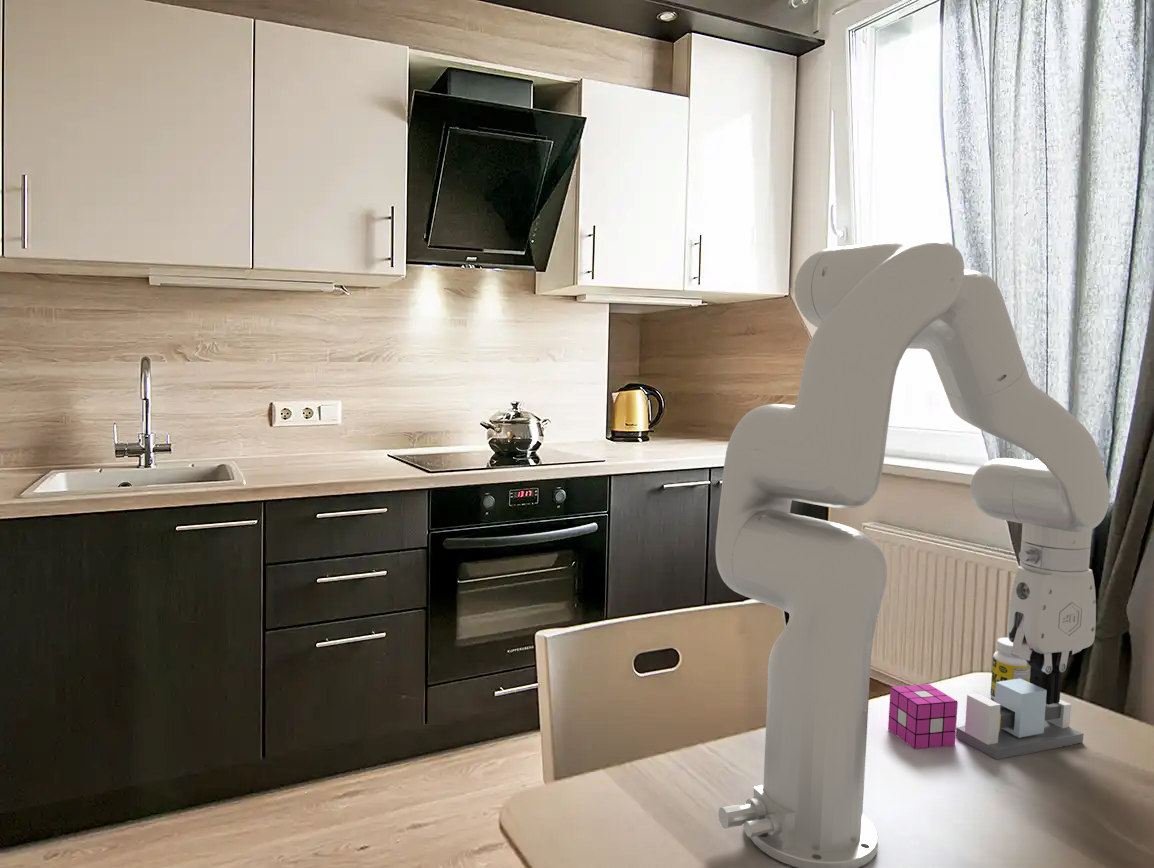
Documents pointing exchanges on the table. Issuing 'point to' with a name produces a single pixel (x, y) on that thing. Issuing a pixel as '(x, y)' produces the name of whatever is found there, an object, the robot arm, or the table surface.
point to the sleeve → (1022, 706)
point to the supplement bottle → (1007, 665)
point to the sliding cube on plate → (999, 743)
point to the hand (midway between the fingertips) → (1043, 699)
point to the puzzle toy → (922, 716)
